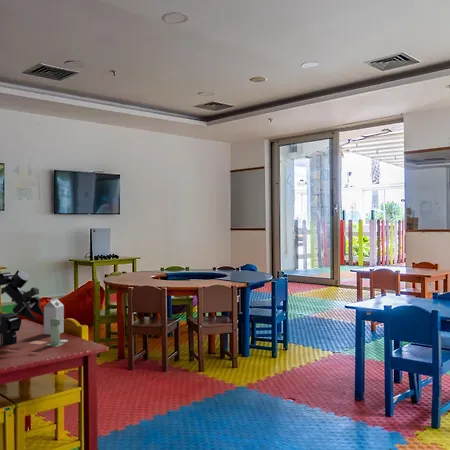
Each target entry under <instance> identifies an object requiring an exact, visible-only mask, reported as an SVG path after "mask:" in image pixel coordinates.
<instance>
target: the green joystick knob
mask: <svg viewBox="0 0 450 450" xmlns="http://www.w3.org/2000/svg"><path fill="white" fill-rule="evenodd" d="M50 325H51V335H50V343H51V345H59V344H60V340H61V337H60V336H61V333H60V318H51V319H50Z"/></svg>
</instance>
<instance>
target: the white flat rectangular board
mask: <svg viewBox="0 0 450 450" xmlns="http://www.w3.org/2000/svg"><path fill="white" fill-rule="evenodd" d="M67 342H68V339H60V344H59V345H51V342H50V343H49V341H43V340H42V341H41V340H33V341H30V342H27V344H29V345H38V346H39V345H44V344H45V345H46V346H48V347H56V348H57V347H58V348H59V347H60V346H63V345H65V343H67Z"/></svg>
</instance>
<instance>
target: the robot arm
mask: <svg viewBox="0 0 450 450" xmlns="http://www.w3.org/2000/svg"><path fill="white" fill-rule="evenodd" d="M29 280H30V275H29V274H28V273H26V272H24V271H22V270H21V269H17V270H16V271H15V274H13V273H11V272H10V271H9V272H8V271H7V272H0V287H1V286H4V287H1V288H0V289H1V291H0V294H1V295H3V294H7V296H9V297H10V298H11V300H10V301H11V302H12V303H15V304H16V305H15V306H14V307H13V308H12V312H9V313H2V312H0V347H2V346H7V345H8V346H9V345H16V344H17V343H18V342H17V340H18V337H17V336H18V335H17V332H20V329H21V326H22V320H21V317H24V318H27V319H30V320H32V321H35V320H36V319H37V317H36V316H35V315H34V314H33V313H35V314H37V315H38V316H39V317H44V311H43V310H42V307H41V305H40V302H41V297H39V296H38V295H39V294H40V289H39V288H38V287H36V286H33V287H31V288H30V290H27V291H26V290H22V289H21V288H23V287H24V286H25V285H26V283H28V281H29ZM36 295H37V296H36ZM20 316H21V317H20Z"/></svg>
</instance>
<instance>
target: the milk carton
mask: <svg viewBox="0 0 450 450" xmlns="http://www.w3.org/2000/svg"><path fill="white" fill-rule="evenodd" d="M64 307H65V305H64V304H63V303H62V302H61V301H60V300H59V297H54V298H51V299H49V302H48V303H46V305H44V307H43V314H44V316H43V335H48V336H49V335H50V336H51V325H50V319H51V318H60V334H63V333H64V330H65V329H64V327H65V326H64V325H65V322H64V321H65V319H64V318H65V308H64Z"/></svg>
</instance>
